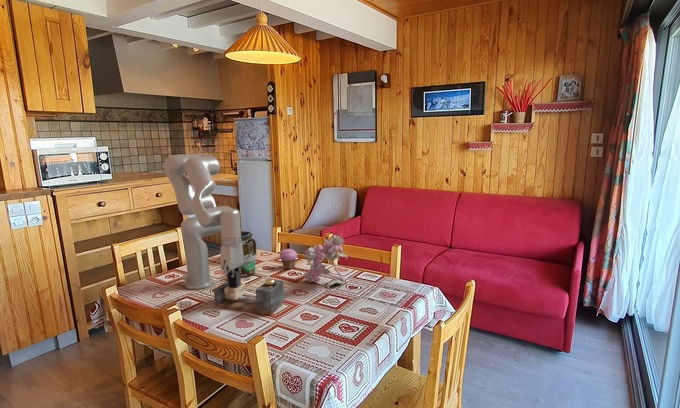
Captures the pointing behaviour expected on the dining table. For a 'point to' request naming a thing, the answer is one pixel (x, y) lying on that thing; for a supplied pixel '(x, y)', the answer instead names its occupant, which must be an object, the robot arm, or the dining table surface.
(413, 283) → the dining table surface
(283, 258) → the cupcake
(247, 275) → the food container
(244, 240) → the mug
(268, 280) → the button
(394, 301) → the dining table surface
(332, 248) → the flower
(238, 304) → the rail base
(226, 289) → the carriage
